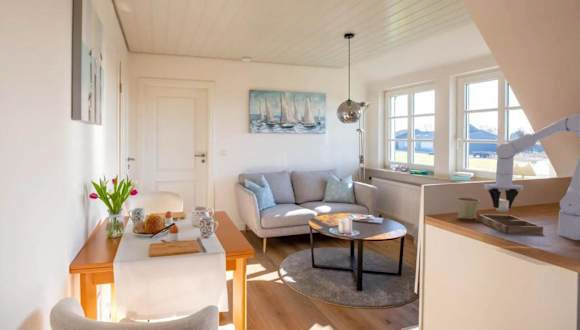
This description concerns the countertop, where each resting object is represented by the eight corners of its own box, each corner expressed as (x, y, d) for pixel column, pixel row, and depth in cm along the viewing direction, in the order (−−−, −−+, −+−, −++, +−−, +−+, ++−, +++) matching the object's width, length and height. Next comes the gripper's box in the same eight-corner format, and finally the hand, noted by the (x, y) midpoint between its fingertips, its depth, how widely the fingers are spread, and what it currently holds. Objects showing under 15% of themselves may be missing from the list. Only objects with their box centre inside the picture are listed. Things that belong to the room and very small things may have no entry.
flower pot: (482, 219, 165) (483, 199, 164) (473, 222, 159) (474, 201, 158) (460, 215, 172) (461, 196, 171) (451, 218, 165) (452, 198, 165)
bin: (542, 236, 138) (543, 227, 138) (505, 235, 138) (506, 226, 138) (509, 223, 159) (510, 215, 158) (477, 222, 158) (477, 214, 158)
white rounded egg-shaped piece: (510, 212, 150) (511, 201, 150) (499, 211, 150) (500, 200, 150) (504, 209, 155) (505, 199, 154) (493, 209, 155) (494, 198, 154)
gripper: (516, 173, 156) (514, 206, 157) (481, 172, 155) (478, 205, 157) (527, 175, 149) (524, 209, 150) (490, 174, 148) (488, 208, 150)
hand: (502, 207), depth 153 cm, fingers closed on white rounded egg-shaped piece, 4 cm apart
